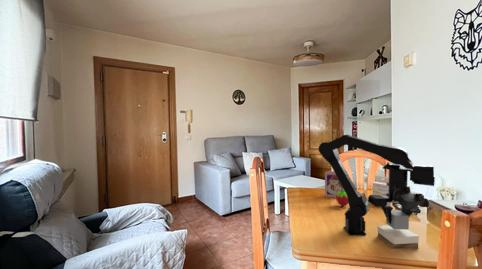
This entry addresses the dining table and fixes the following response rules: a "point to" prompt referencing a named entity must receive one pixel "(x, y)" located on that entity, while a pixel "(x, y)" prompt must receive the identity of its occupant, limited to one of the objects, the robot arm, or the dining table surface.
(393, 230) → the tower top
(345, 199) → the strawberry
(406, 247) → the tower bottom
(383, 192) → the ink cartridge box
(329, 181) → the pink snowman box
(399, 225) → the slate cube
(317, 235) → the dining table surface
